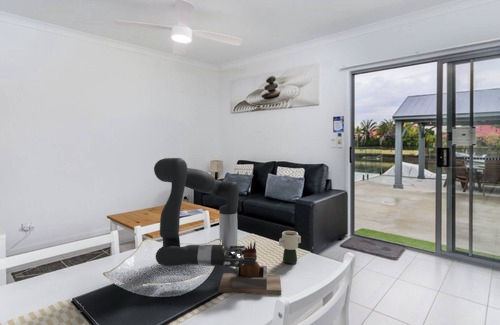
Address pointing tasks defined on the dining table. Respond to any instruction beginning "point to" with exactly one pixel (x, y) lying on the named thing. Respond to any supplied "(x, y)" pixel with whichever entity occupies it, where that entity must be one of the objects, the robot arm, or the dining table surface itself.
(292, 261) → the character mug
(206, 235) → the dining table surface
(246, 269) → the wooden figurine
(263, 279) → the socket stand
